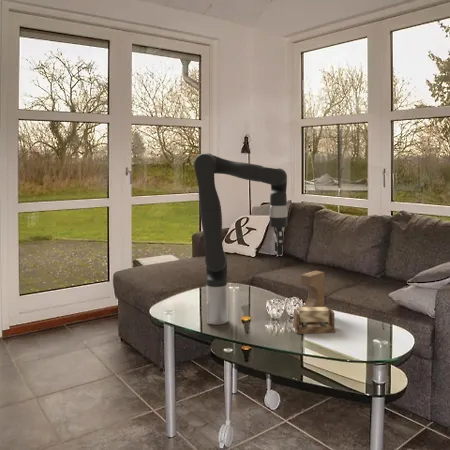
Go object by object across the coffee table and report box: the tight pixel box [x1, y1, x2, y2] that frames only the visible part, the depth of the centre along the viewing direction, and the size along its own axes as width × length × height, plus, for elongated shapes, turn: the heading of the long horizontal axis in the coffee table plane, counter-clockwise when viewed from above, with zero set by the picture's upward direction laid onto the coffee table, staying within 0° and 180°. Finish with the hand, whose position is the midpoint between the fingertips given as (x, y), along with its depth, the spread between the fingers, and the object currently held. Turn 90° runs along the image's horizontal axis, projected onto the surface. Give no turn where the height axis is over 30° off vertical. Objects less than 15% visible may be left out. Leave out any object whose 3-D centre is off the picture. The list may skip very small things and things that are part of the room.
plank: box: [298, 306, 329, 322], centre depth 218 cm, size 12×5×5 cm, turn 87°
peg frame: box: [292, 307, 336, 335], centre depth 218 cm, size 16×10×8 cm, turn 91°
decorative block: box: [300, 270, 325, 307], centre depth 235 cm, size 11×6×20 cm, turn 132°
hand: (278, 252), depth 220 cm, fingers open, 8 cm apart
